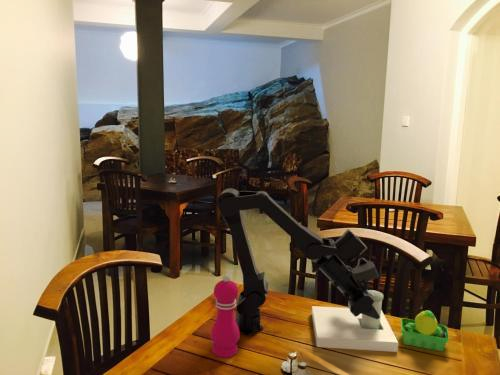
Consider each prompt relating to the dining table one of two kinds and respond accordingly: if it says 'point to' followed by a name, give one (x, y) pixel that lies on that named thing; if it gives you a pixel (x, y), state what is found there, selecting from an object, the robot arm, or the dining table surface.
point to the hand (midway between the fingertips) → (376, 313)
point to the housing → (350, 331)
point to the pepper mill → (225, 319)
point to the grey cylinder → (372, 322)
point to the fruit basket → (424, 331)
